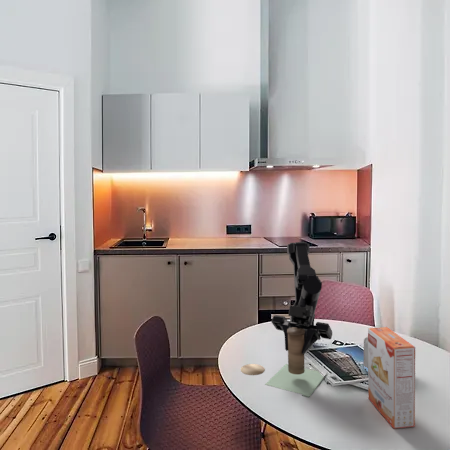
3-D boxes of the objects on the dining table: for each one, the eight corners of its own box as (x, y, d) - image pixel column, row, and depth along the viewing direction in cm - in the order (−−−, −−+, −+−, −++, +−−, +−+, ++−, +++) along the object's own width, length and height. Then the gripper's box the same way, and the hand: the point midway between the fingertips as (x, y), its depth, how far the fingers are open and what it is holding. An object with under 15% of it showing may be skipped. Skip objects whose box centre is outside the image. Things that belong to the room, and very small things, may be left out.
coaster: (247, 363, 134) (247, 362, 134) (268, 368, 130) (268, 367, 130) (236, 372, 128) (236, 371, 128) (257, 378, 124) (257, 377, 123)
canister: (291, 365, 125) (291, 326, 124) (307, 369, 123) (307, 329, 121) (284, 372, 121) (284, 331, 120) (301, 376, 118) (300, 334, 117)
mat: (286, 365, 132) (286, 363, 132) (326, 374, 125) (326, 373, 125) (265, 385, 119) (264, 384, 119) (309, 397, 111) (309, 396, 111)
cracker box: (366, 399, 109) (366, 327, 108) (387, 398, 110) (387, 325, 108) (392, 429, 96) (392, 347, 94) (415, 428, 96) (416, 345, 94)
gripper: (273, 291, 128) (258, 334, 120) (329, 298, 118) (317, 346, 110) (283, 307, 135) (270, 350, 127) (337, 315, 125) (326, 362, 117)
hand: (294, 351), depth 120 cm, fingers closed on canister, 5 cm apart
